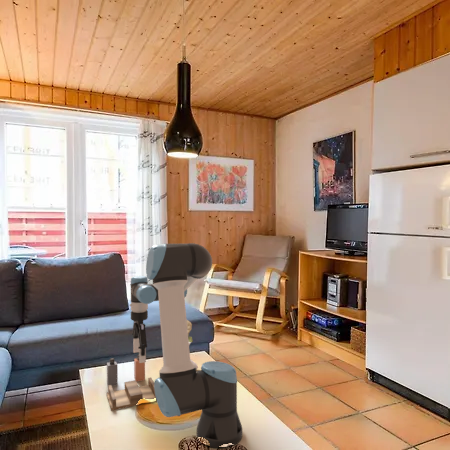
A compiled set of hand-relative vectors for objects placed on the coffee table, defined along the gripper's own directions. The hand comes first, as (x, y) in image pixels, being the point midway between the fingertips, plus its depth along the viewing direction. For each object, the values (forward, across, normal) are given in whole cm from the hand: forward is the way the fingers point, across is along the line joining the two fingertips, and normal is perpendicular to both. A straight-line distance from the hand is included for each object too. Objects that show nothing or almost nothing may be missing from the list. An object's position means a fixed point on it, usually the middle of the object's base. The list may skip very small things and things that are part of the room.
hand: (139, 357), depth 167 cm
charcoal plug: (+10, 0, -12) cm, 16 cm away
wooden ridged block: (+10, +18, -6) cm, 21 cm away
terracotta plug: (+10, 0, 0) cm, 10 cm away
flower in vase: (+10, +2, +22) cm, 24 cm away
